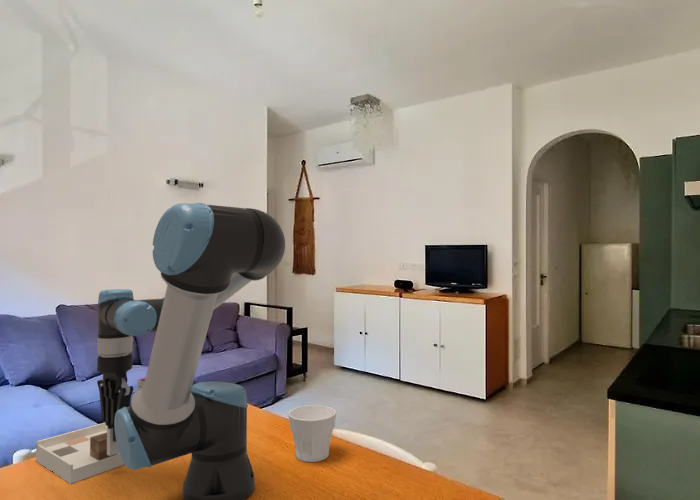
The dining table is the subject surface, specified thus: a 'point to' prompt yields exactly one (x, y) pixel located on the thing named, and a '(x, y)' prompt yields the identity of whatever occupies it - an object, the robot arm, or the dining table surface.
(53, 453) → the tray
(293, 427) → the cup
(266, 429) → the dining table surface
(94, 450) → the block
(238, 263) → the robot arm
